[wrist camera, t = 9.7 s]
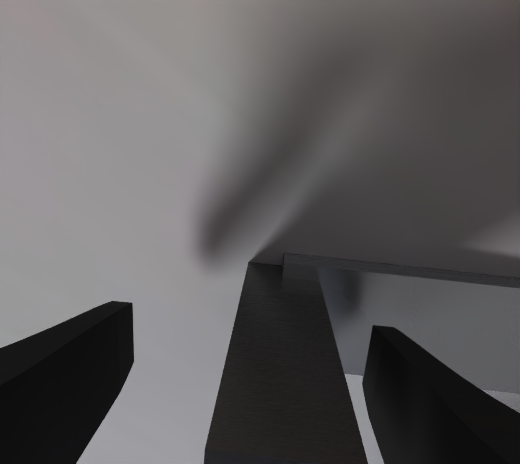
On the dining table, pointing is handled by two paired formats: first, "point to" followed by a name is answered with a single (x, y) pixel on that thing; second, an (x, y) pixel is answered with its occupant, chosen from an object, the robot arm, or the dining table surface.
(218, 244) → the dining table surface
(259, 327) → the grey l-shaped block
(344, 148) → the dining table surface
